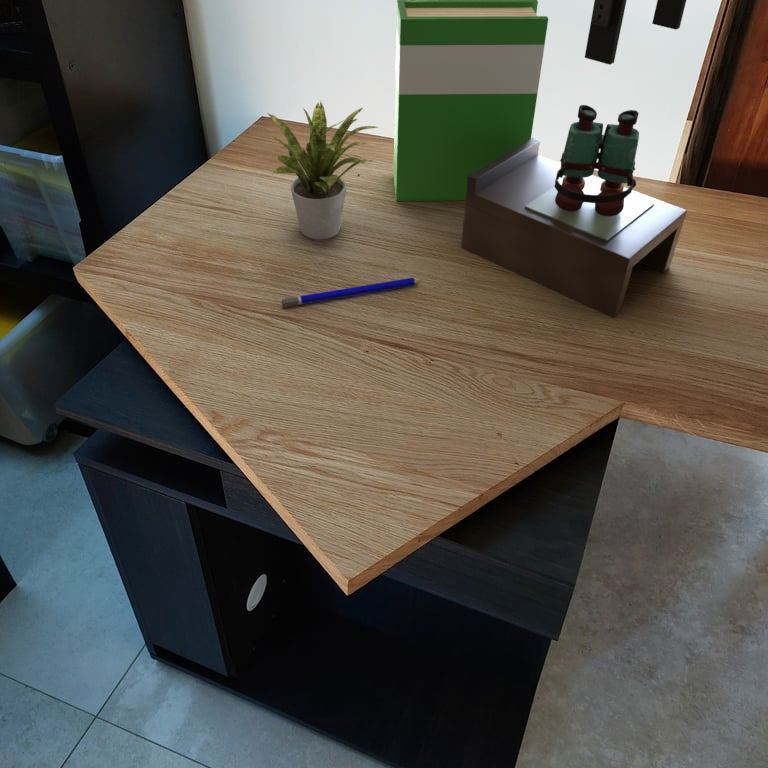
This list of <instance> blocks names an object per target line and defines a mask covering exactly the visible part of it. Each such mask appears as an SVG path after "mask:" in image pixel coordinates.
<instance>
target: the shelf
mask: <svg viewBox="0 0 768 768" xmlns="http://www.w3.org/2000/svg"><path fill="white" fill-rule="evenodd" d="M540 144H541V140H540V139H537V138H535V137H531V139H530V140H528V141H526V142H525V143H523V144H521V145H520V146H518V147H516V148H514V149H513V150H511V151H509V152H508V153H506V154H504V155H502V156H501V157H499V158H497V159H496V160H494V161H492V162H490V163H489V164H487V165H485V166H484V167H482V168H480V169H478V170H477V171H475V172H473V173H472V174H470V175H468V178H467V189H466V200H464V202H465V203H464V211H463V212H464V214H463V223H462V236H461V246H460V247H461V248H463V249H465V250H466V251H469V252H470V253H473V254H475V255H477V256H480V257H481V258H484V259H486V260H488V261H491V262H493V263H495V264H496V265H499V266H501V267H503V268H505V269H507V270H509V271H512V272H514V273H516V274H519V275H520V276H523V277H524V278H527V279H530V280H531V281H534V282H536V283H538V284H540V285H542V286H544V287H546V288H548V289H550V290H553V291H555V292H557V293H559V294H561V295H564V296H565V297H568V298H570V299H572V300H574V301H577V302H579V303H580V304H583V305H585V306H587V307H589V308H591V309H594V310H596V311H598V312H600V313H602V314H605V315H606V316H609V317H612V318H613V319H614V318H615V317H616V316H618V315H619V314H620V313H621V311H622V307H623V304H624V300H625V297H626V294H627V289H628V286H629V283H630V278H631V275H632V271H633V268H634V266H636V265H637V264H638V263H640V264H642V265H644V266H648V267H650V268H652V269H655V270H657V271H660V272H662V273H664V272H666V271H668V269H669V268H670V267H671V264H672V261H673V258H674V253H675V251H676V248H677V244H678V242H679V238H680V235H681V232H682V229H683V225H684V221H685V219H686V215H687V212H688V209H686V208H685V209H684V208H682V207H679V206H676V205H674V204H671V203H669V202H666V201H663V200H660V199H657V198H656V197H652V196H649V195H647V194H644V193H641V192H639V191H636V190H633V189H632V192H631V193H630V194H629V195H628V196H627V197H626V198H624V208H623V210H622V212H621V213H619V214H617V215H615V216H603V215H600V214H598V213H597V212H596V210H595V203H588V202H583V204H582V207H581V208H580V209H579V210H577V211H566V210H563V209H561V208H560V207H558V206H557V204H556V202H555V198H556V195H557V192H558V191H557V190H556V188H555V187H554V186H555V180H556V174H557V172H558V170H559V169H560V168H561V162H559V161H555V160H552V159H550V158H547V157H545V156H542V155H539V152H540ZM564 177H565V176H563V177H562V178H560V177H559V179H558V180H557V181H558V182H559V183H560V185H562V182H563V178H564ZM584 179H585V186H584V189H582V190H583V192H584V194H589V195H598V194H599V193H600V192H601V191H600V187H601V183H602V181H604V179H601V178H600V177H599V176H595V175H594V174H593V175H591V176H589V177H585V178H584ZM628 188H629V187H625V186H624V189H623V191H625V190H627V189H628Z"/></svg>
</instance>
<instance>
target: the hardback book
mask: <svg viewBox="0 0 768 768" xmlns="http://www.w3.org/2000/svg"><path fill="white" fill-rule="evenodd" d="M538 5H539V1H538V0H396V27H395V28H396V31H395V79H394V81H395V83H394V122H393V123H394V125H393V128H394V130H393V170H392V171H393V174H392V176H393V185H394V194H395V195H394V196H395V201H396V202H432V201H433V202H436V201H437V202H438V201H439V202H440V201H443V202H444V201H466V189H467V178H468V175H470V174H472V173H473V172H475V171H477V170H478V169H480V168H482V167H484V166H485V165H487V164H489V163H490V162H492V161H494V160H496V159H497V158H499V157H501V156H502V155H504V154H506V153H508V152H509V151H511V150H513V149H514V148H516V147H518V146H520V145H521V144H523V143H525V142H526V141H528V140H530V139H532V133H533V128H534V127H533V126H534V121H535V120H534V119H535V112H536V106H537V101H538V92H539V87H540V79H541V72H542V67H543V59H544V51H545V45H546V40H547V39H546V38H547V33H548V32H547V31H548V24H549V17H548V16H547V15H537V12H538V7H539V6H538Z"/></svg>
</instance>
